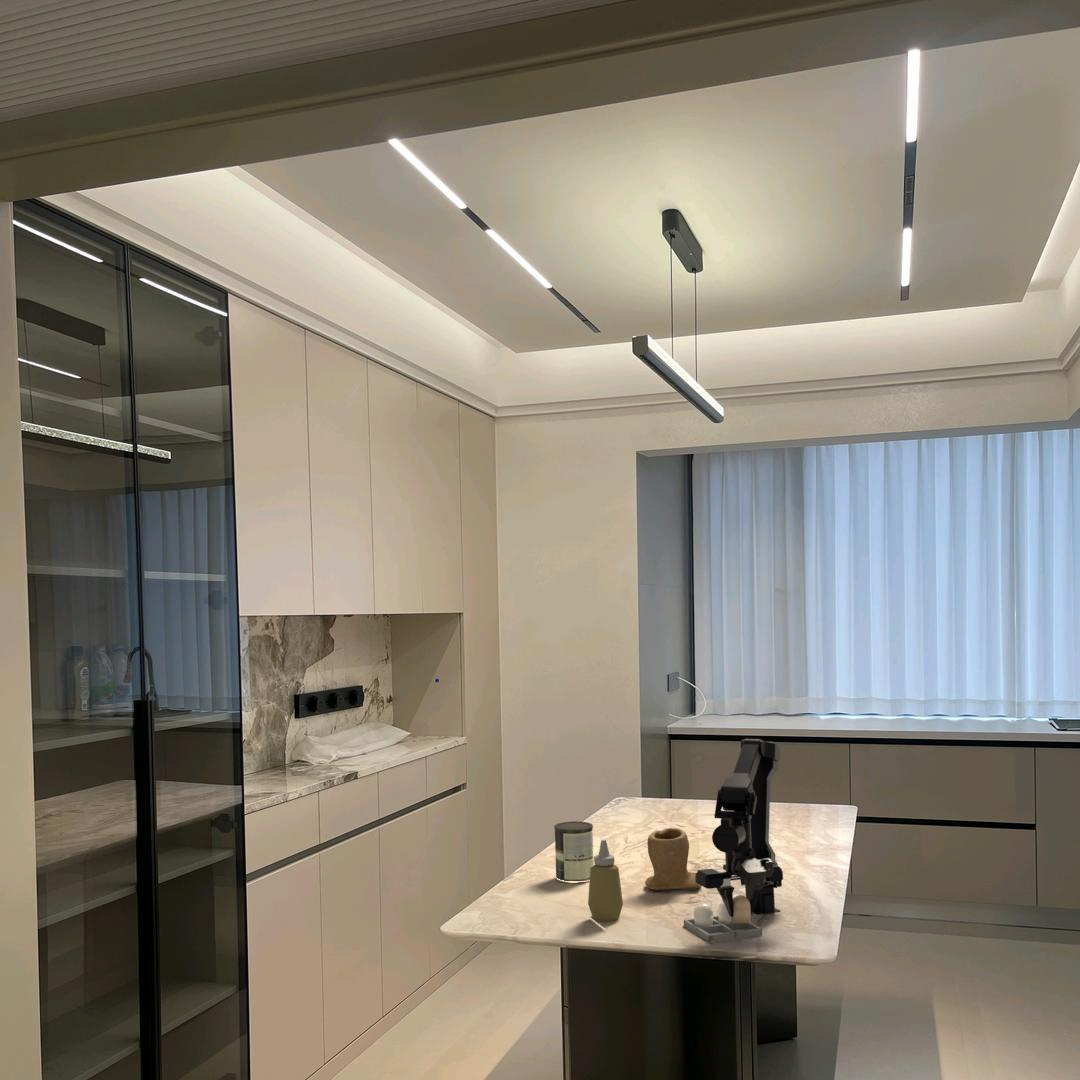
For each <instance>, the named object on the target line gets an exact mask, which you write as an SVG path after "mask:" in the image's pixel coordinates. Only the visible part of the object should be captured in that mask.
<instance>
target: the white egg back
mask: <svg viewBox="0 0 1080 1080" xmlns="http://www.w3.org/2000/svg"><path fill="white" fill-rule="evenodd" d="M713 916H714V910H713V908H712V907H711V906H710V905H709V904H707V903H699V904H697V905H696V906H695V908H694V910H693V919H694V925H696V926H697V927H702V926H710V925H713Z"/></svg>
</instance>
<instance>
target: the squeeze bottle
mask: <svg viewBox="0 0 1080 1080" xmlns="http://www.w3.org/2000/svg"><path fill="white" fill-rule="evenodd" d="M588 884H589V886H588V898H587V905H588V907H589V911H590V914H591V917H592V918H593V921H594V920H595V922H603V923H604V922H614V921H617V920H619V918H620V915H621V912H622V908H623V905H624V900H623V894H622V885H621V877H620V869H619V866H617V865H616V864H615V856H614V855H612V854H610V850H609V847H608V842H607V840H606V839H601V840H600V846H599V850H598V854H596V855H595V856H593V866H592V867H591V868H590V882H588Z"/></svg>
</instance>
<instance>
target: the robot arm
mask: <svg viewBox="0 0 1080 1080" xmlns="http://www.w3.org/2000/svg"><path fill="white" fill-rule="evenodd" d="M738 755H739V756H738V757H737V760H736V763H735V766H734V770H733V772H732V775H730V776H729V777H727V778H725V779H724V781H723V782H722V785H721V786H720V788H719V789H718V791H717V797H716V803H715V810H714V819H720V825H718V826H717V827H716V828H715V829H713V832H712V835H711V836H712V837H711V839H712V840H711V842H712V844H713V846H714V847H715V848H716V849H717V850H719V852H722V853H725V854H724V856H725V857H724V858H725V859H724V860H725V864H722V869H723V872H720V871H718V870H716V869H714V868H707V869H698V870H697V872H695V873H696V875H695V880H696V883H697V884H699V885H701V887H703V888H704V889H710V890H711V889H716V890H717V892H718V894H719V895H720V897H721V899H722V902H724V904H725V907H726V909H727V911H728V913H729V916H731V917H733V913H734V908H733V898H734V896H733V895H734V894H733V892H734V891H735V887H734V886H732V884H731V883H732V882H731V881H739V880H740V886H744V889H745V897H746V898H747V899H748V900H749V902H750V907H751V916H752V914H754V915H757V916H759V915H765V914H766V915H767V914H775V913H781V910H780V909H778V908H777V907H776V903H775V889H777V888H781V887H782V886H783V882H782V881H783V880H784V871H783V870H782V867H781V866H779V864H778V862H777V860H776V854H775V851H774V849H773V848H772V845H771V843H770V810H771V809H770V806H771V804H770V803H771V779H772V778H773V776H774V775H775V773H777V772H776V771H778V766H779V763H778V762H780V760H781V749H780V746H779V745H778V744H776V743H775V741H765V740H762V739H761V738H745V739H741V742H740V752H739V754H738ZM724 870H725V871H724Z"/></svg>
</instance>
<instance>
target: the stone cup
mask: <svg viewBox="0 0 1080 1080" xmlns="http://www.w3.org/2000/svg"><path fill="white" fill-rule="evenodd" d="M689 852H690V841H689V837H688V835H687V833H686V831H684V830H683V829H681V828H676V827H668V828H665V829H663V830H655V831H653V832H651V833H650V834H649V835H648V838H647V853H648V857H649V859H650V863H651V865H652V868H653V875H652V876H649V877H648V878H646V879H645V882H644V885H645V886H646V887H647V888H648V889H651V890H654V891H655V890H656V891H671V890H672V891H675V890H691V889H692V890H693V889H694V890H695V889H701V887H702V886H701V885H699V884H697V883H696V880H695V875H696V873H697V872H690V871H688V859H689V854H690V853H689Z"/></svg>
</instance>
